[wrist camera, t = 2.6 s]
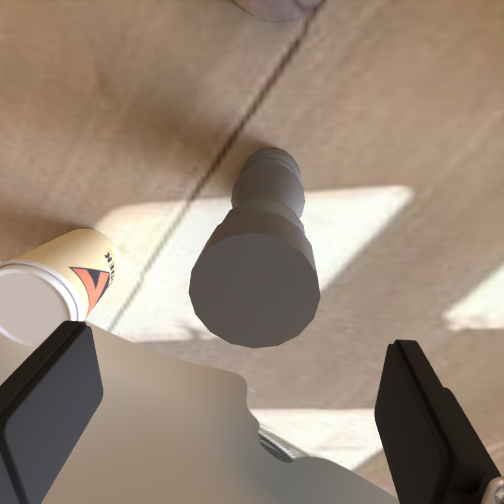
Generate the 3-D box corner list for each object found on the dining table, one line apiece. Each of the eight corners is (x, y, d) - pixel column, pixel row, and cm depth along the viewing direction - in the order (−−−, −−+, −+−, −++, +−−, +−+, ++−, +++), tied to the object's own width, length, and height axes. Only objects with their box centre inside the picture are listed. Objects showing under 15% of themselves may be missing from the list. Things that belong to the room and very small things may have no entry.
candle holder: (285, 213, 40) (289, 370, 17) (234, 192, 39) (165, 323, 16) (310, 161, 37) (353, 261, 14) (255, 138, 37) (209, 202, 14)
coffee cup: (122, 298, 46) (71, 362, 35) (51, 278, 45) (-23, 335, 34) (132, 234, 42) (79, 282, 31) (55, 211, 42) (-26, 252, 31)
